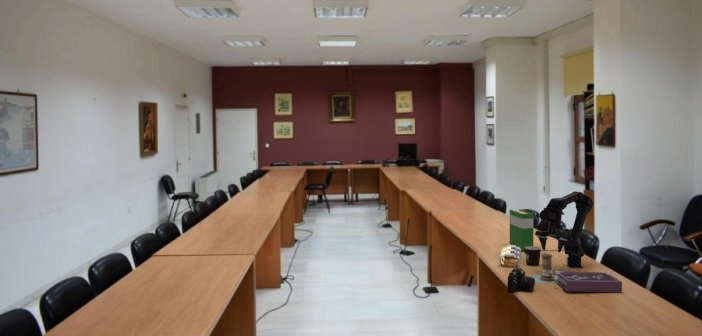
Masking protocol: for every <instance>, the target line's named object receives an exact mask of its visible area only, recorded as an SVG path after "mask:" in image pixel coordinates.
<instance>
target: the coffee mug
mask: <svg viewBox="0 0 702 336" xmlns="http://www.w3.org/2000/svg"><path fill="white" fill-rule="evenodd" d="M541 251H542V247H540V246H534V245H533V246H527V247H525V249H524V255H525V261H526V265H527V266H531V267H538V266H539V265H540V258H541V254H542V253H541Z"/></svg>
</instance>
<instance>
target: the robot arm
mask: <svg viewBox="0 0 702 336" xmlns="http://www.w3.org/2000/svg"><path fill="white" fill-rule="evenodd" d="M572 203H575V209H576V214H575V219H574V222H573V226H572V229H569V228H565V229H563V225H562V218H563V217H562V216H564V215H565V213H564V211H563V210H565V209H566V208H567V207H568V205H570V204H572ZM593 206H594V200H593V199H592V198H591V197H589V196H588V195H587V194H584V193H583V192H582V191H577V190H576V191H572V192H570V193H569V194H566V195H564V196H562V197H554V198H551V199H550V200H549V202H548V203H547V205H546V207H543V209H542V210H541V211H540V212H539V215H538V216H539V219H540V220H541V221H543V222H548V223H547V226H548V228H547V230H545V231H544V230H536V231H535V232H534V236H536V238H537V239H538V241H539V243H540V246H541V250H542V251H543V252H545V251H546V246H547V241H548V239H549V238H548V237H551V238H558V239H557V252H558V253H561V252H562V250H564V254H565V255H567V257H566V265H567V266H568V268H581V269H582V268H583V266H582V258H583V257H584V256H585V250H584V249H583V248H582V246H583V244H582V241H581V236H582V233H583V229H584V226H585V222H586V218H587V215H588V214H589V213H590V212H591V211H592V210H593V209H592V208H593Z"/></svg>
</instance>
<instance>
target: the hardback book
mask: <svg viewBox="0 0 702 336" xmlns="http://www.w3.org/2000/svg"><path fill="white" fill-rule="evenodd" d="M509 245H516V247H519V248H521V253H522V252H524V249H525V247H527V246H534V213H533V212H529V211H527V210H524V209H518V210H514V209H509ZM524 253H525V252H524Z"/></svg>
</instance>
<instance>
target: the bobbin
mask: <svg viewBox="0 0 702 336" xmlns="http://www.w3.org/2000/svg"><path fill="white" fill-rule="evenodd" d="M540 258H541V260H542V261H541V265H542V269H541V273H542V274H541V275H542V276H540V279H541V280H544V281H553V280H554V279H555V277H554V276H552V275H553V268H552V267H553V264H552V263H553V262H552V258H553V253H552V254H551V253H540Z"/></svg>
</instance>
